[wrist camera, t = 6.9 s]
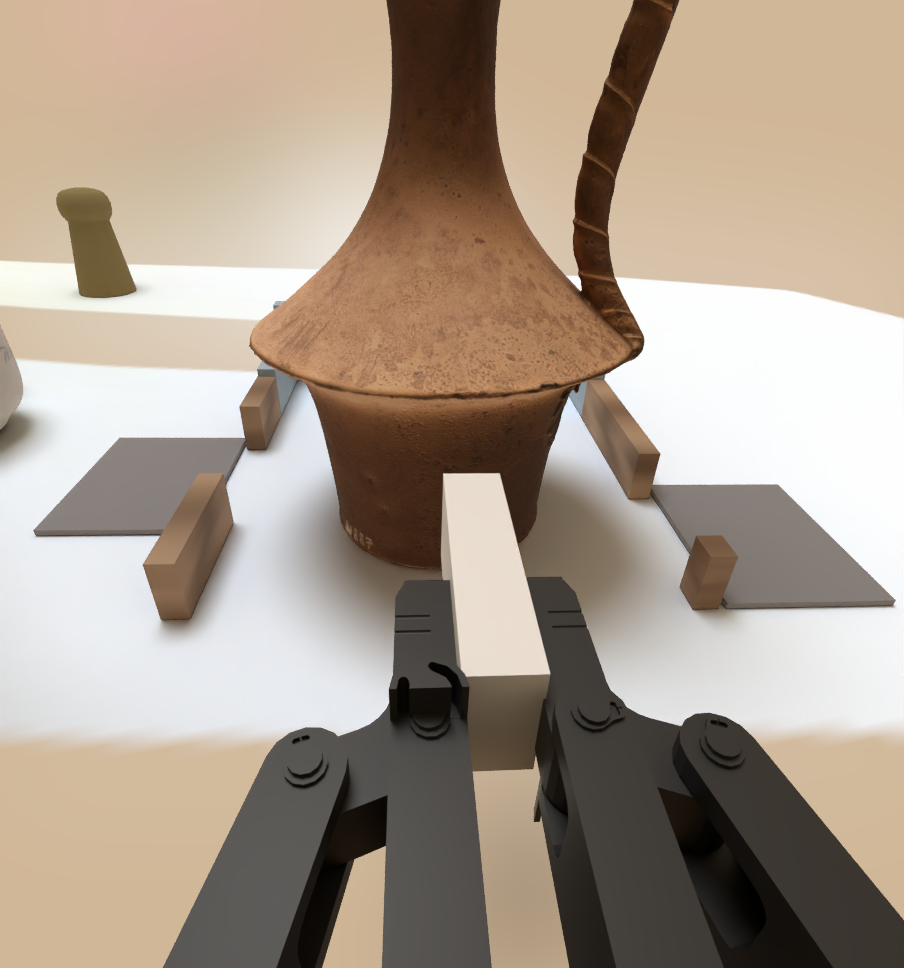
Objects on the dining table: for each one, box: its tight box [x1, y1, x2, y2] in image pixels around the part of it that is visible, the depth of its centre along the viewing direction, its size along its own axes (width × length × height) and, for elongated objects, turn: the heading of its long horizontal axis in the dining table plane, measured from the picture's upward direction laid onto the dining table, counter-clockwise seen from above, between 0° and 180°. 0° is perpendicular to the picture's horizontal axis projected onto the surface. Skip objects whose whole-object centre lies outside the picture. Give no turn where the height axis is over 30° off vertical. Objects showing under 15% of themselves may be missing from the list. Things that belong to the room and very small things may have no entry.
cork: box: [56, 188, 136, 298], centre depth 66 cm, size 6×6×11 cm
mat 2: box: [650, 485, 896, 608], centre depth 30 cm, size 10×8×1 cm
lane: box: [143, 376, 738, 619], centre depth 33 cm, size 20×24×3 cm
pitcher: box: [249, 0, 679, 569], centre depth 24 cm, size 18×17×28 cm
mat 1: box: [33, 438, 246, 535], centre depth 33 cm, size 10×8×1 cm
